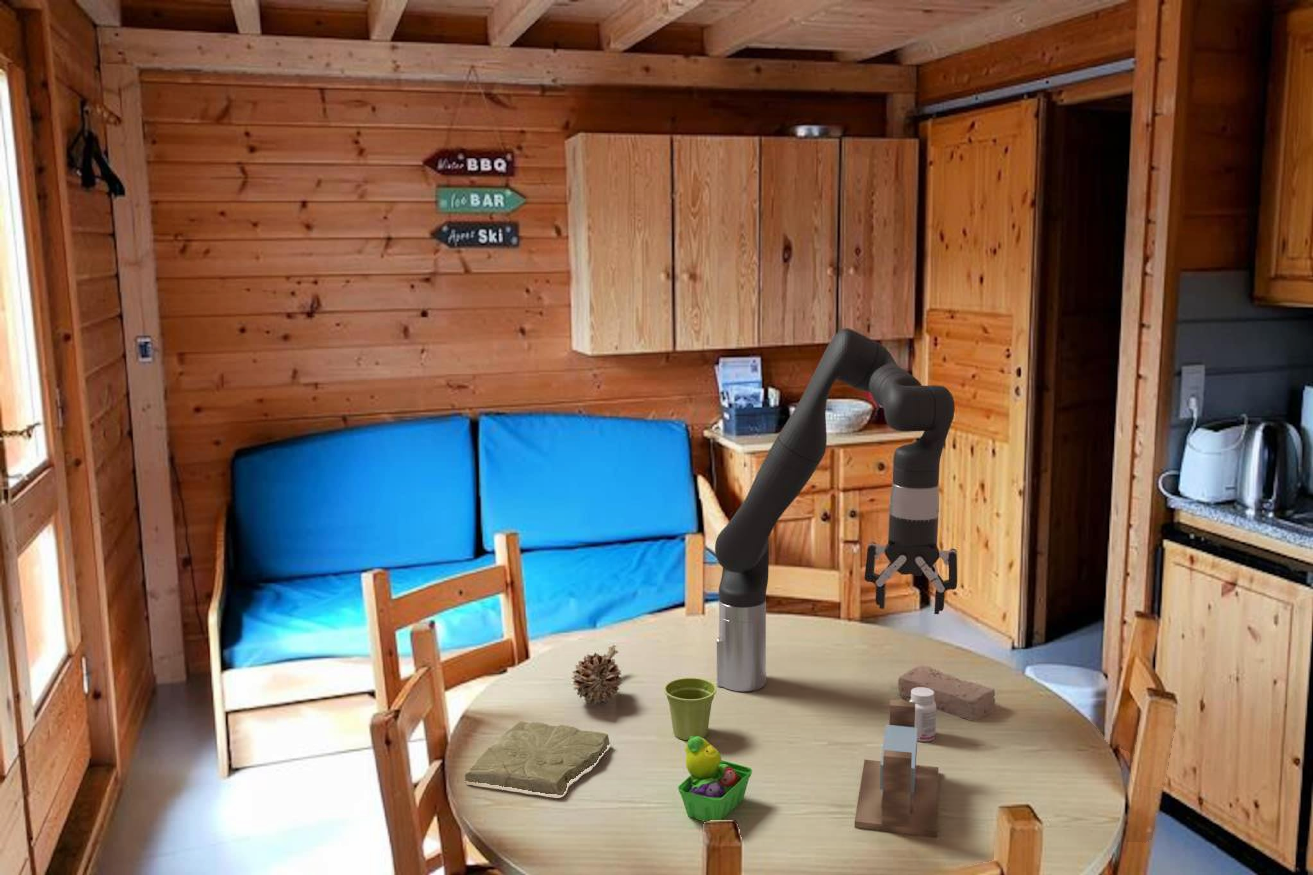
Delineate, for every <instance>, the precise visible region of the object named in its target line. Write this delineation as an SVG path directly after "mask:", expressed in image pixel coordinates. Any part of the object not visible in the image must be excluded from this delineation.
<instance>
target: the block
mask: <svg viewBox="0 0 1313 875" xmlns="http://www.w3.org/2000/svg"><path fill="white" fill-rule="evenodd" d="M917 729H918V728H915V727H905V726H894V725H889V724H885V728H884V730H885V731H884V738H883V742H882V750H881V759H880V761H881V765H880V789H881V790H883V755H884V750H891V751H901V752H911V753H912V761H911V793H914V784H915V770H916V765H917V753H918V752H917V751H918V741H917Z"/></svg>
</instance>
